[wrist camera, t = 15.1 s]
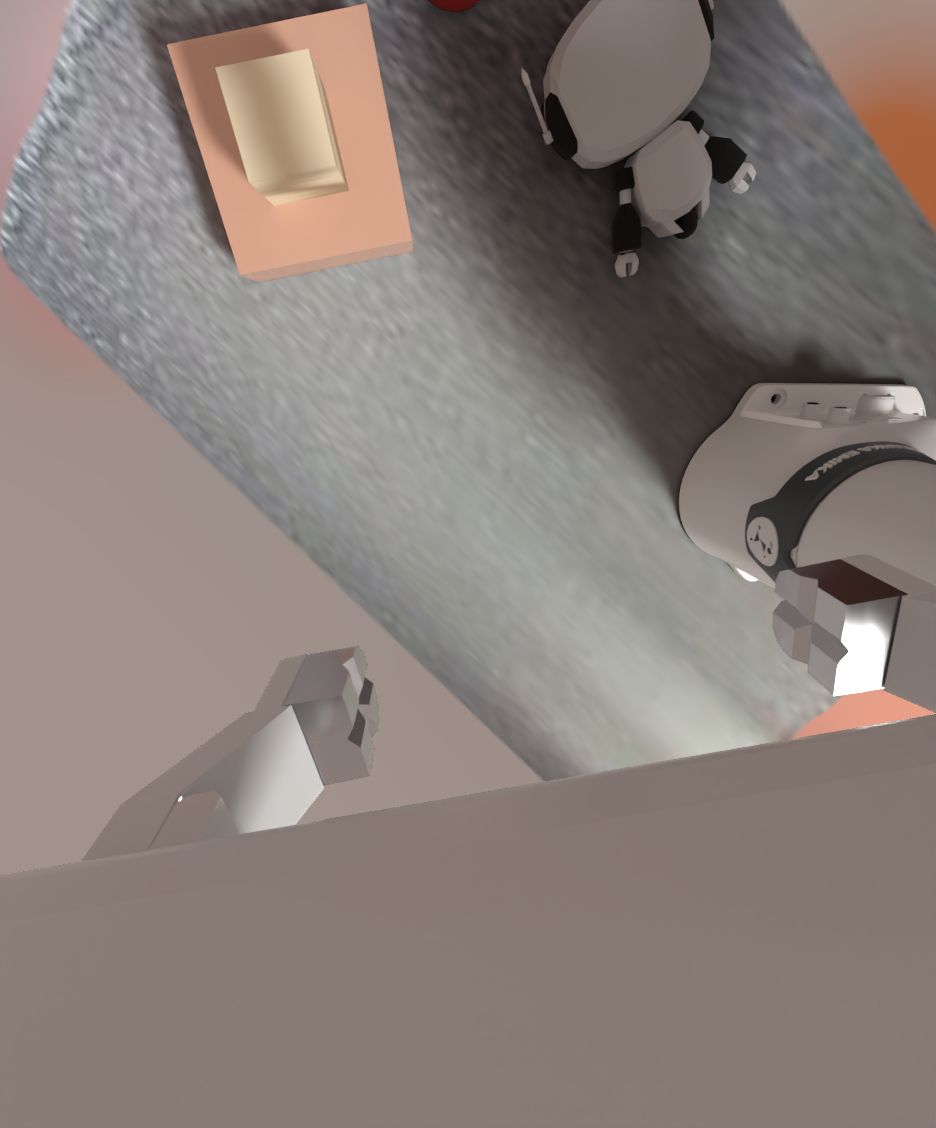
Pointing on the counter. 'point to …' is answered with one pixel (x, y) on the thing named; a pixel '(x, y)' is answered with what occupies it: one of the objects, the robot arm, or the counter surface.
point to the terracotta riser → (355, 93)
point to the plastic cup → (454, 4)
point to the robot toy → (639, 113)
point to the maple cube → (284, 127)
